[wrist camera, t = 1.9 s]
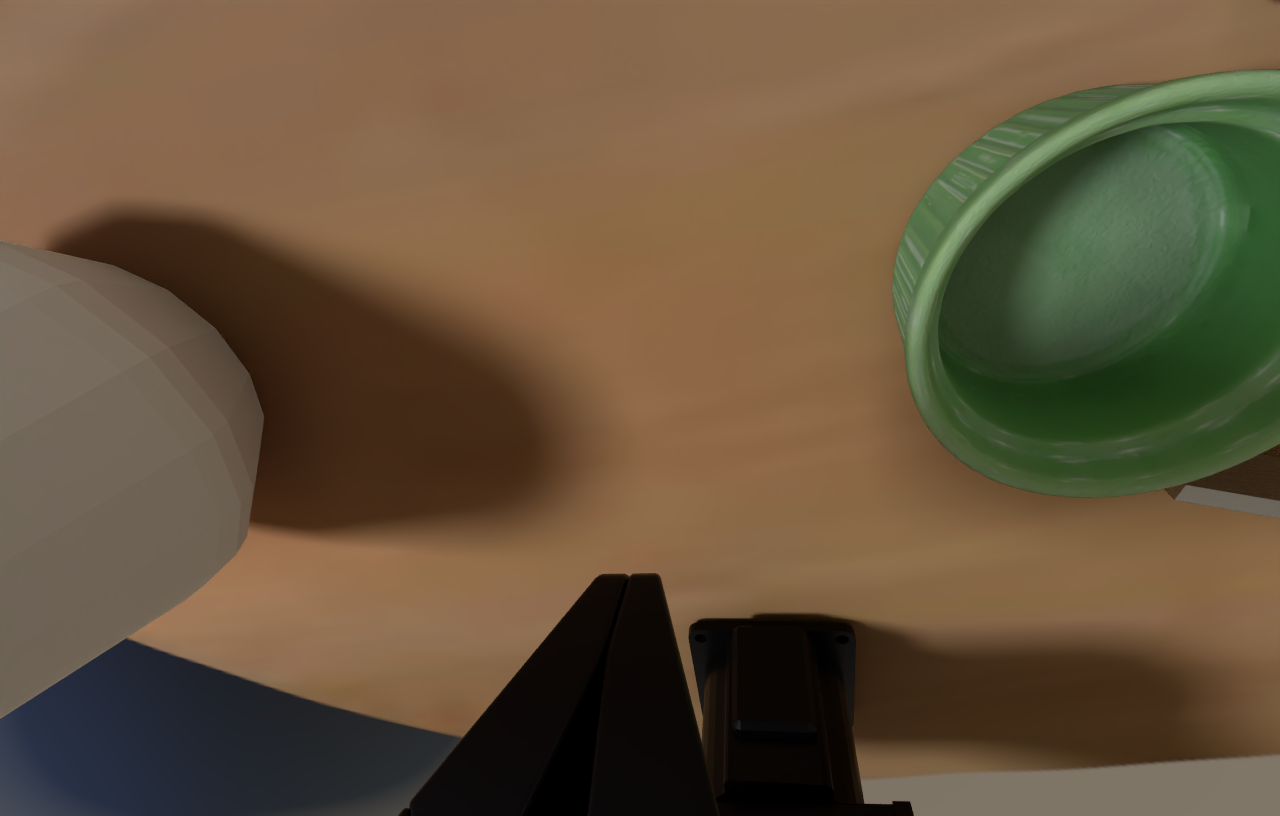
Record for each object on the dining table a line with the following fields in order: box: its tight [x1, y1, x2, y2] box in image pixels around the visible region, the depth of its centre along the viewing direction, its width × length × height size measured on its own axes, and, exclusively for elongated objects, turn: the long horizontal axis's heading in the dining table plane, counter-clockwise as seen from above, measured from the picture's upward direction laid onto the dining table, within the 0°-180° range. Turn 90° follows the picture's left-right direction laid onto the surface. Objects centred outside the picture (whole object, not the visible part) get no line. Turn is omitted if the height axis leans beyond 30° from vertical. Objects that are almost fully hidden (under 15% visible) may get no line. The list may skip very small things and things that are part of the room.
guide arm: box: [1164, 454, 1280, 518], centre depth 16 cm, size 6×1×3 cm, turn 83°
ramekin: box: [893, 69, 1280, 498], centre depth 14 cm, size 9×9×4 cm
